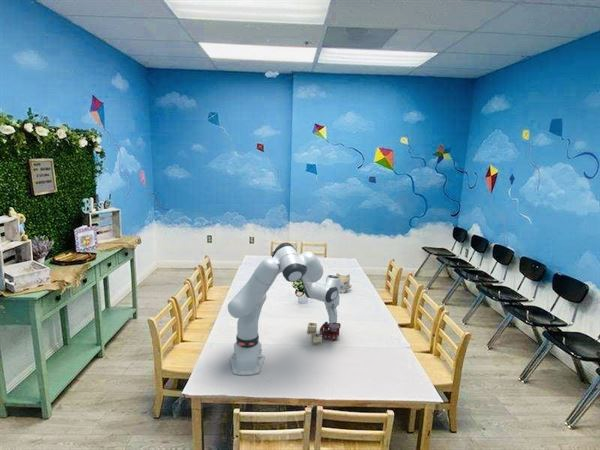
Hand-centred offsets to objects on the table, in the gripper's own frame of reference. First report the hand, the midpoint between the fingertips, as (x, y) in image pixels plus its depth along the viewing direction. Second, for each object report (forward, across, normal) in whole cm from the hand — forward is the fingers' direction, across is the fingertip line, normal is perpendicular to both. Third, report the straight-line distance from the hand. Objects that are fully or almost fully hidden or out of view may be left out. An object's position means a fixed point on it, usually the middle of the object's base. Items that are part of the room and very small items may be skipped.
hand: (330, 322), depth 230 cm
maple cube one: (+10, -6, +9) cm, 15 cm away
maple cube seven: (+10, +7, +10) cm, 16 cm away
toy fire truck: (+10, 0, 0) cm, 11 cm away
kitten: (+10, +68, -21) cm, 72 cm away
